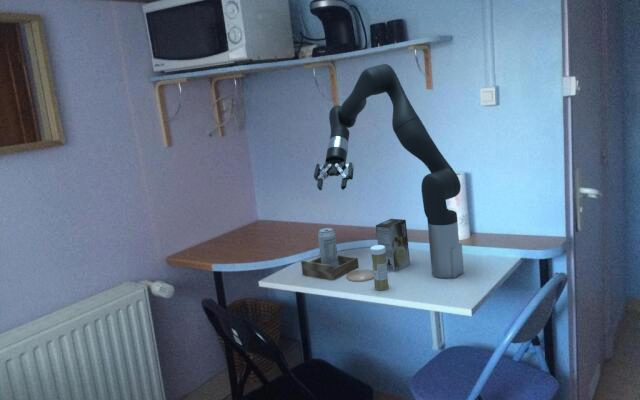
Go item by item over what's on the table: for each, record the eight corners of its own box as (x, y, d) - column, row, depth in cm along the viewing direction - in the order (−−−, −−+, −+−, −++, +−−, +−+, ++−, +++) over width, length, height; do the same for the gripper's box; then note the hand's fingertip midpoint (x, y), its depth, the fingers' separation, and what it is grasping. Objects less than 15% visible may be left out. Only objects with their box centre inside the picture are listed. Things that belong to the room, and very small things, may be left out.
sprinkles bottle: (373, 286, 175) (368, 245, 172) (387, 284, 175) (383, 243, 172) (376, 291, 170) (371, 249, 168) (390, 289, 171) (386, 247, 168)
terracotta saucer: (382, 273, 186) (382, 271, 185) (364, 283, 178) (364, 281, 178) (358, 269, 192) (358, 268, 192) (340, 279, 185) (340, 277, 185)
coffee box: (395, 262, 196) (391, 218, 193) (410, 264, 191) (406, 219, 188) (379, 270, 189) (375, 224, 186) (395, 272, 185) (390, 226, 182)
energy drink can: (335, 267, 198) (330, 226, 195) (342, 271, 193) (337, 229, 190) (319, 270, 196) (314, 229, 193) (326, 275, 191) (321, 233, 188)
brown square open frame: (358, 267, 195) (357, 253, 194) (333, 280, 185) (331, 266, 184) (328, 262, 204) (327, 249, 203) (302, 274, 194) (301, 261, 193)
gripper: (316, 146, 205) (309, 184, 198) (353, 144, 201) (347, 182, 193) (322, 158, 211) (315, 194, 204) (358, 156, 207) (352, 193, 199)
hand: (331, 188), depth 198 cm, fingers open, 8 cm apart
